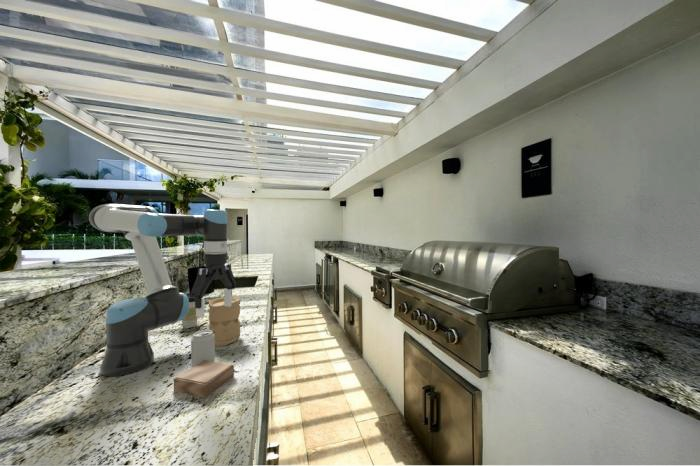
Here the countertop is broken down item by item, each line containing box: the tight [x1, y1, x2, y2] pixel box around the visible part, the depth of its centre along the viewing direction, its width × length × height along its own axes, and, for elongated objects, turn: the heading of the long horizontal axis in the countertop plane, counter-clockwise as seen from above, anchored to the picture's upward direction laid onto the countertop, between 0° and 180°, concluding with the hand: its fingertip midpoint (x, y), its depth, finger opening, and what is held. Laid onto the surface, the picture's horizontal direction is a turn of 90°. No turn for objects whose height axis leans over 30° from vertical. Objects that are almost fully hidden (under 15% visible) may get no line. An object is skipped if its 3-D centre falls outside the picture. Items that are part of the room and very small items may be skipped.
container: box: [208, 296, 241, 348], centre depth 121 cm, size 13×13×18 cm
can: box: [190, 329, 216, 368], centre depth 99 cm, size 8×8×12 cm
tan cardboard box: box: [173, 360, 235, 399], centre depth 87 cm, size 12×12×4 cm
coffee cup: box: [181, 294, 199, 329], centre depth 140 cm, size 10×10×15 cm
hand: (214, 311), depth 99 cm, fingers open, 13 cm apart
